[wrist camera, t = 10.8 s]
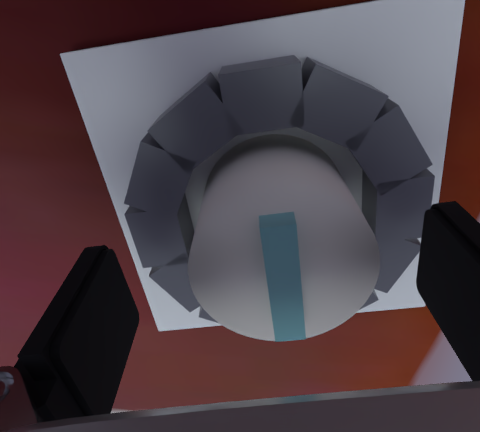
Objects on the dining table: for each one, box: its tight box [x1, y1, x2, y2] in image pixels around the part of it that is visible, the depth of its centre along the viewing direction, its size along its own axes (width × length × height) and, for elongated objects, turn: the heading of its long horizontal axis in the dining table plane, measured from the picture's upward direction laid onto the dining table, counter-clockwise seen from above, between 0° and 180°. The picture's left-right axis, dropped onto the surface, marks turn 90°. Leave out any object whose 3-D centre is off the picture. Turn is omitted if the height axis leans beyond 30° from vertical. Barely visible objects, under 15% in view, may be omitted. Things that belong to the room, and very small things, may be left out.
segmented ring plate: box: [60, 0, 465, 331], centre depth 15 cm, size 14×14×3 cm
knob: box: [188, 134, 380, 342], centre depth 13 cm, size 6×6×6 cm
